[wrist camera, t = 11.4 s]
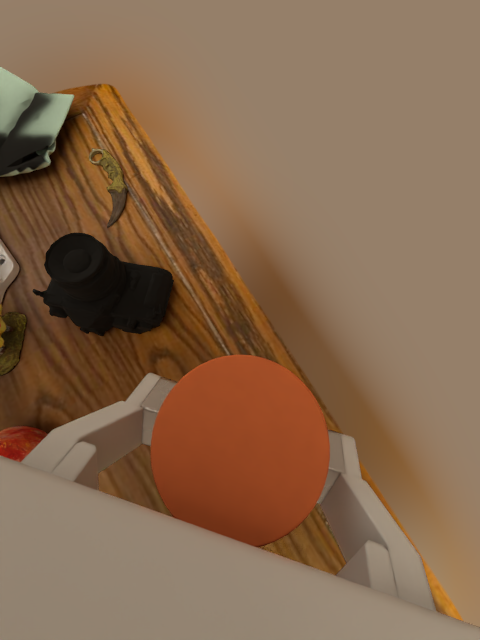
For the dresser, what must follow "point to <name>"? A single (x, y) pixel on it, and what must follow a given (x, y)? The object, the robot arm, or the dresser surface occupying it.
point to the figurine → (10, 339)
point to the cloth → (28, 124)
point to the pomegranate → (19, 441)
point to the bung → (240, 449)
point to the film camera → (103, 287)
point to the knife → (118, 186)
